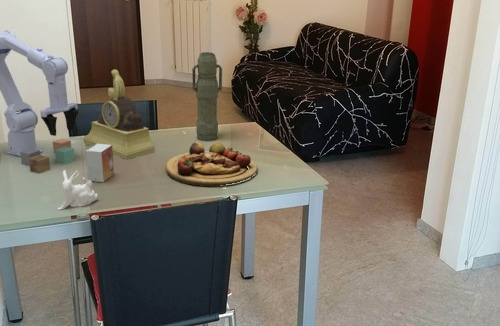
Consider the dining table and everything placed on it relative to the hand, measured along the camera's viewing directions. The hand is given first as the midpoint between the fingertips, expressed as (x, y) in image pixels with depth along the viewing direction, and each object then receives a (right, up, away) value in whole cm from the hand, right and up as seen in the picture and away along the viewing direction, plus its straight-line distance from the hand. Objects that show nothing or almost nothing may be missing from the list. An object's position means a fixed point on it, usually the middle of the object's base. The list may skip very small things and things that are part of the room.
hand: (61, 132), depth 178 cm
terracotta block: (-4, -7, +12) cm, 14 cm away
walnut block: (-5, -13, -6) cm, 15 cm away
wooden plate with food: (+53, -14, 0) cm, 54 cm away
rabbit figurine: (+15, -22, -29) cm, 40 cm away
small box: (+17, -16, -10) cm, 25 cm away
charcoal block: (-11, -11, 0) cm, 15 cm away
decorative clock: (+15, -5, +19) cm, 25 cm away
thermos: (+48, 0, +34) cm, 59 cm away
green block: (0, -10, +3) cm, 11 cm away
